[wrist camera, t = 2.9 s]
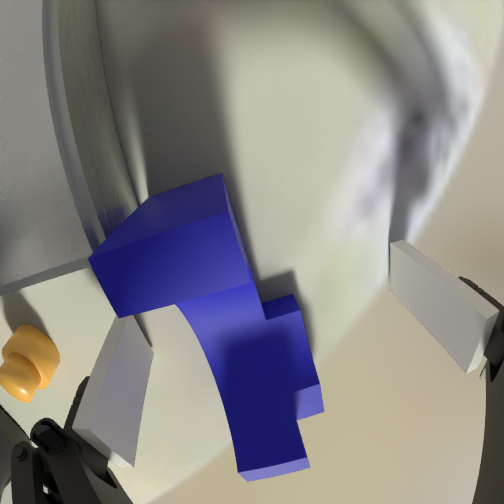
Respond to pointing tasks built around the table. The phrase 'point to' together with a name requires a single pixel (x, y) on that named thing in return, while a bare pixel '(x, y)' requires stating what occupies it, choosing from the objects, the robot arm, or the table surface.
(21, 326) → the chess pawn
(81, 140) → the grey square plate
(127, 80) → the table surface
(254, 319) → the cable clip
